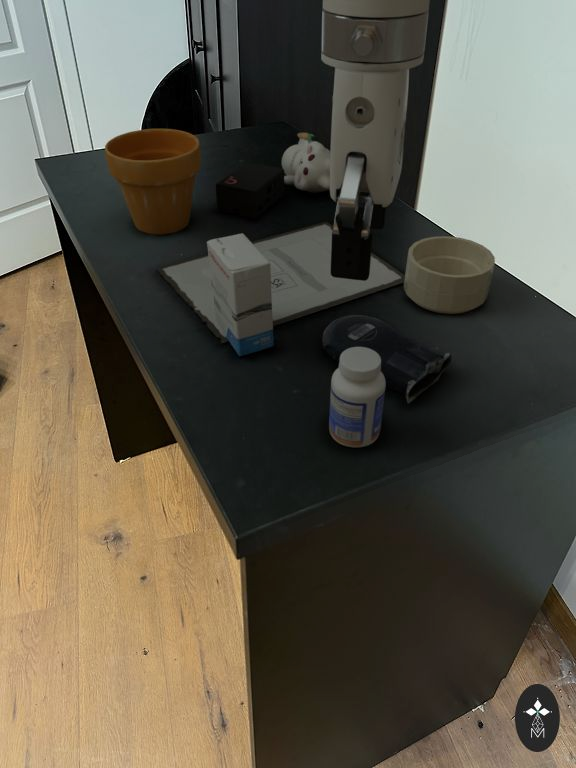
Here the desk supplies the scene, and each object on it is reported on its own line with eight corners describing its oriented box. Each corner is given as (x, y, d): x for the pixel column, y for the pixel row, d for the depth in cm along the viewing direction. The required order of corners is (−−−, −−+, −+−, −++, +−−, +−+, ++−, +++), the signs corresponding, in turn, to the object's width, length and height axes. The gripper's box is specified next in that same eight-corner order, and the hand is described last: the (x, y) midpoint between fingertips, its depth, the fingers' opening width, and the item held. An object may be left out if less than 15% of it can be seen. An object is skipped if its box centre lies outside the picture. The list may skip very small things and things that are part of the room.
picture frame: (221, 344, 81) (411, 280, 93) (221, 342, 81) (411, 278, 93) (154, 269, 95) (326, 222, 107) (154, 267, 95) (326, 220, 107)
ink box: (275, 348, 80) (273, 262, 72) (236, 358, 78) (231, 272, 71) (248, 312, 86) (244, 230, 78) (212, 321, 84) (205, 238, 77)
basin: (485, 279, 93) (494, 240, 90) (486, 321, 85) (495, 281, 81) (407, 270, 95) (412, 232, 92) (399, 311, 87) (404, 271, 83)
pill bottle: (362, 408, 72) (369, 336, 66) (389, 439, 68) (400, 365, 62) (319, 423, 70) (322, 350, 64) (344, 456, 66) (350, 381, 60)
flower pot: (219, 232, 105) (213, 151, 96) (132, 250, 100) (118, 166, 92) (189, 199, 115) (181, 123, 106) (109, 214, 110) (94, 136, 102)
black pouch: (450, 377, 78) (355, 315, 85) (460, 345, 74) (359, 282, 80) (402, 422, 74) (306, 353, 80) (410, 391, 70) (307, 321, 76)
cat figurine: (283, 123, 118) (330, 137, 107) (315, 140, 123) (364, 155, 112) (262, 174, 120) (307, 193, 109) (295, 189, 125) (341, 208, 114)
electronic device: (284, 196, 116) (284, 168, 112) (256, 220, 108) (255, 191, 105) (247, 189, 118) (246, 161, 115) (217, 211, 111) (215, 183, 107)
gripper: (414, 70, 40) (389, 306, 51) (433, 17, 53) (410, 214, 64) (295, 64, 42) (295, 295, 53) (343, 13, 55) (335, 207, 66)
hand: (358, 250), depth 58 cm, fingers open, 9 cm apart
